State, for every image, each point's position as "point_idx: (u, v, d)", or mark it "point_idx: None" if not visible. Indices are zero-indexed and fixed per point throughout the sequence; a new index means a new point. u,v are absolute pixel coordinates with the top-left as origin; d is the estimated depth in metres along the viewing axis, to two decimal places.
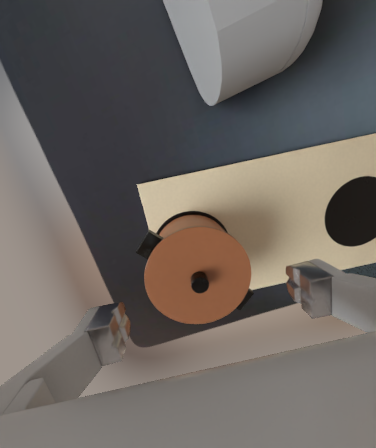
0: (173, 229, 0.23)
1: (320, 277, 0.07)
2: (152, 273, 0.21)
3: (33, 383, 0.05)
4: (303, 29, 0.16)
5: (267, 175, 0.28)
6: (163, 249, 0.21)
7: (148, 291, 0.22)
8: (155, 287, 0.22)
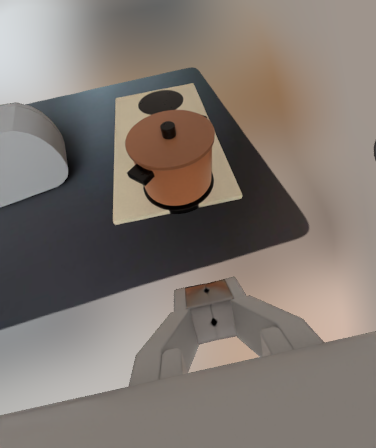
0: None
1: (222, 299, 0.07)
2: (159, 162, 0.23)
3: (171, 352, 0.05)
4: (35, 111, 0.32)
5: None
6: (138, 156, 0.24)
7: (177, 164, 0.23)
8: (173, 159, 0.23)
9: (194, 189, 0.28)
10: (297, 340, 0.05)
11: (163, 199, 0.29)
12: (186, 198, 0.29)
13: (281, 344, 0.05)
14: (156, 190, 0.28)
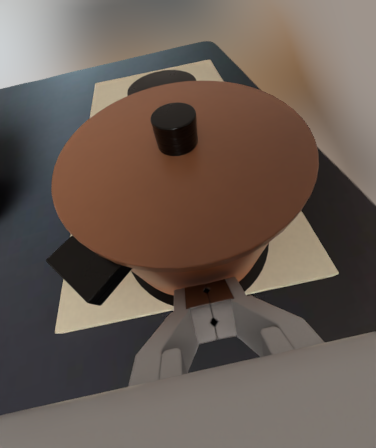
0: None
1: (222, 299, 0.07)
2: (142, 241, 0.07)
3: (170, 352, 0.05)
4: None
5: None
6: (79, 211, 0.08)
7: (207, 257, 0.06)
8: (193, 234, 0.07)
9: (236, 277, 0.11)
10: (298, 340, 0.05)
11: (161, 289, 0.13)
12: None
13: (282, 344, 0.05)
14: (143, 278, 0.11)
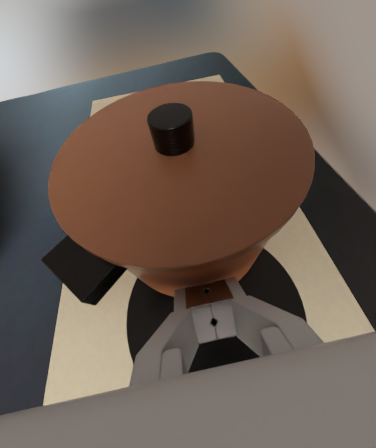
0: None
1: (222, 299, 0.07)
2: (137, 241, 0.07)
3: (171, 352, 0.05)
4: None
5: None
6: (74, 211, 0.08)
7: (201, 257, 0.06)
8: (187, 234, 0.07)
9: None
10: (298, 340, 0.05)
11: (158, 289, 0.13)
12: None
13: (281, 344, 0.05)
14: (140, 278, 0.11)
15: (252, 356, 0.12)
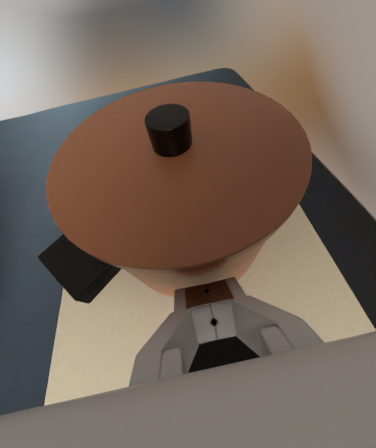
0: None
1: (222, 299, 0.07)
2: (130, 241, 0.07)
3: (170, 352, 0.05)
4: None
5: None
6: (71, 209, 0.08)
7: (192, 259, 0.06)
8: (180, 236, 0.07)
9: None
10: (298, 340, 0.05)
11: (154, 289, 0.13)
12: None
13: (281, 344, 0.05)
14: (136, 277, 0.11)
15: None
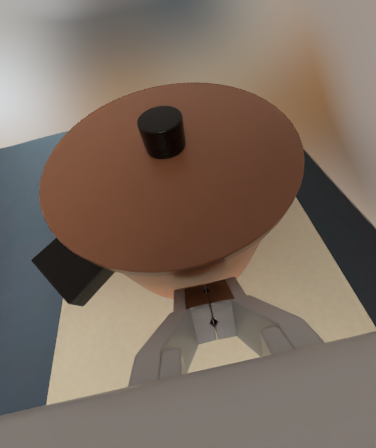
0: None
1: (222, 299, 0.07)
2: (122, 244, 0.07)
3: (170, 352, 0.05)
4: None
5: (88, 384, 0.12)
6: (64, 212, 0.08)
7: (184, 262, 0.06)
8: (172, 239, 0.07)
9: None
10: (298, 340, 0.05)
11: (150, 290, 0.13)
12: None
13: (281, 344, 0.05)
14: (132, 279, 0.11)
15: None
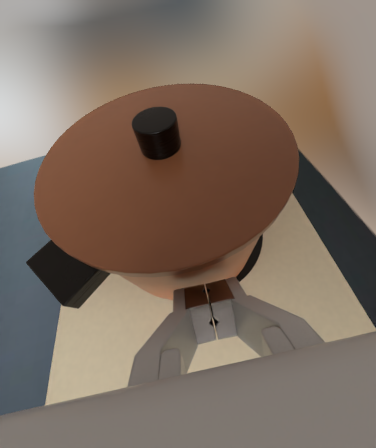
0: None
1: (222, 298, 0.07)
2: (117, 245, 0.07)
3: (169, 353, 0.05)
4: None
5: None
6: (58, 214, 0.08)
7: (179, 262, 0.06)
8: (167, 239, 0.07)
9: None
10: (298, 340, 0.05)
11: (148, 291, 0.13)
12: None
13: (282, 344, 0.05)
14: None
15: None
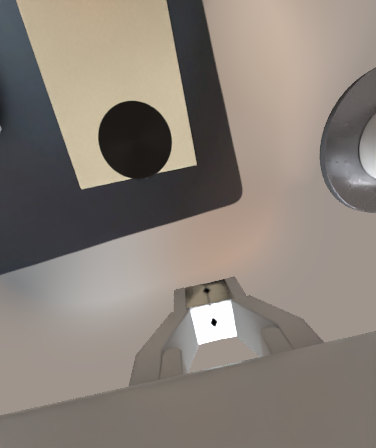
0: None
1: (222, 299, 0.07)
2: None
3: (171, 352, 0.05)
4: None
5: (55, 62, 0.30)
6: None
7: None
8: None
9: None
10: (298, 340, 0.05)
11: None
12: None
13: (281, 344, 0.05)
14: None
15: (150, 158, 0.34)
